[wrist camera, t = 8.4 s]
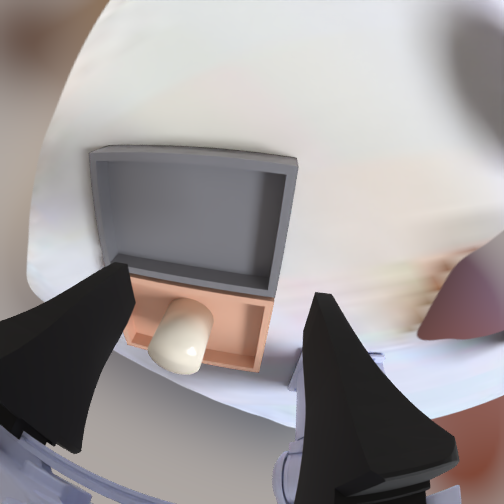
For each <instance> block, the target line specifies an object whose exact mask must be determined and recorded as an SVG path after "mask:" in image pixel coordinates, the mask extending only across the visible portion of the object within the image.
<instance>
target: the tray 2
mask: <svg viewBox="0 0 504 504" xmlns="http://www.w3.org/2000/svg"><path fill="white" fill-rule="evenodd" d="M130 278H131V283H132V288H133V292H134V297H135V301H136V304H135V306H134V309H133V312H132V314H131V317H130V319H129V321H128V324H127V325H126V327H125V329H124V331H123V333H124V336H125V339H126V342H127V345H131V346H134V347H138V348H141V349H145V350H148V346H149V344H150V341H151V339H152V337H153V335H154V333H155V331H156V329H157V327H158V325H159V324H160V322H161V320H162V318H163V316H164V314H165V312H166V310H167V308H168V306H169V304H170V303H171V302H172V301H173V300H175V299H178V298H189V299H193V300H196V301H198V302H200V303H202V304H203V305H205V306H206V307H207V308H208V309H209V310H210V312H211V313H212V315H213V318H214V323H213V327H212V330H211V333H210V336H209V340H208V343H207V346H206V349H205V353H204V356H203V359H202V362H201V363H204V364H209V365H214V366H220V367H225V368H231V369H237V370H243V371H250V372H257V373H259V370H260V365H261V361H262V356H263V352H264V347H265V343H266V338H267V333H268V329H269V324H270V319H271V314H272V309H273V305H274V298H273V297H266V296H259V295H252V294H246V293H239V292H233V291H227V290H220V289H214V288H208V287H202V286H197V285H191V284H185V283H180V282H174V281H169V280H163V279H158V278H153V277H148V276H143V275H138V274H133V273H130Z"/></svg>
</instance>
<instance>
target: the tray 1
mask: <svg viewBox="0 0 504 504" xmlns="http://www.w3.org/2000/svg"><path fill="white" fill-rule="evenodd" d="M89 161H90V173H91V184H92V193H93V201H94V208H95V215H96V221H97V227H98V233H99V239H100V244H101V249H102V254H103V259H104V263H105V267H106V266H108V265H110V264H112V263H114V262H119V263H125V264H128V268H129V273H133V274H138V275H143V276H148V277H153V278H158V279H163V280H169V281H174V282H180V283H185V284H191V285H197V286H202V287H208V288H214V289H220V290H227V291H233V292H239V293H246V294H252V295H259V296H266V297H273V298H275V295H276V290H277V285H278V279H279V274H280V269H281V264H282V259H283V253H284V248H285V242H286V237H287V231H288V226H289V220H290V214H291V209H292V203H293V197H294V191H295V185H296V179H297V173H298V162H297V158H293V157H287V156H280V155H273V154H265V153H257V152H248V151H239V150H229V149H217V148H204V147H188V146H163V145H111V146H106V147H103V148H100V149H98V150H95V151H93V152H90V153H89Z"/></svg>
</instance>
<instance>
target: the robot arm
mask: <svg viewBox="0 0 504 504" xmlns="http://www.w3.org/2000/svg"><path fill="white" fill-rule="evenodd" d="M135 304H136V301H135V297H134V292H133V288H132V283H131V278H130V273H129V268H128V264H125V263H119V262H114V263H112V264H110V265H108V266H106V267H104V268H103V269H101V270H99V271H97V272H96V273H94V274H92V275H91V276H89V277H88V278H86V279H84V280H83V281H81V282H79V283H78V284H76V285H74V286H73V287H71V288H69V289H68V290H66V291H64V292H62V293H61V294H59V295H57V296H56V297H54V298H52V299H50V300H49V301H47V302H45V303H43V304H41V305H39V306H37V307H35V308H32V309H30V310H28V311H26V312H23V313H21V314H18V315H16V316H13V317H11V318H8V319H5V320H2V321H0V504H93V503H91V502H90V501H91V498H92V496H91V494H89V493H88V492H86V491H84V490H83V489H81V488H80V487H78V486H76V485H74V484H72V483H70V482H68V481H66V480H64V479H62V478H60V477H59V476H57V475H55V474H53V473H52V471H51V467H52V468H53V469H55V470H57V471H58V472H60V473H61V474H63V475H65V476H67V477H68V478H70V479H72V480H74V481H76V482H77V483H79V484H81V485H83V486H85V487H87V488H89V489H91V490H93V491H95V492H97V493H99V494H101V495H103V496H105V497H107V498H110V499H112V500H114V501H117V502H119V503H121V504H175V503H171V502H168V501H164V500H161V499H158V498H155V497H151V496H148V495H145V494H143V493H139V492H137V491H134V490H131V489H129V488H126V487H124V486H121V485H119V484H116V483H114V482H112V481H109V480H107V479H105V478H103V477H100V476H98V475H96V474H94V473H92V472H90V471H88V470H86V469H84V468H82V467H80V466H78V465H77V464H75V463H73V462H71V461H69V460H67V459H66V458H64V457H62V456H61V455H59V454H57V453H56V452H54V451H52V450H51V449H49V448H48V447H46V446H45V445H46V442H48V443H49V444H51V445H52V446H55V445H56V444H57V445H59V446H61V447H63V448H64V449H66V450H68V451H70V452H71V453H73V454H77V453H79V452H81V448H82V440H83V434H84V427H85V423H86V418H87V414H88V410H89V406H90V403H91V400H92V396H93V393H94V390H95V388H96V384H97V382H98V379H99V376H100V374H101V372H102V369H103V367H104V365H105V363H106V361H107V360H108V358H109V356H110V354H111V352H112V350H113V349H114V347H115V345H116V343H117V342H118V340H119V338H120V336H121V334H122V333H123V331H124V329H125V327H126V325H127V324H128V321H129V319H130V317H131V314H132V312H133V309H134V306H135ZM384 360H385V356H384V355H377V354H369V353H368V352H367V351H366V349H365V348H364V346H363V345H362V343H361V342H360V340H359V339H358V337H357V335H356V334H355V332H354V331H353V329H352V328H351V326H350V324H349V323H348V321H347V319H346V318H345V316H344V314H343V313H342V311H341V309H340V307H339V306H338V304H337V302H336V301H335V299H334V297H333V296H332V294H326V293H318V292H315V295H314V298H313V301H312V305H311V308H310V311H309V315H308V318H307V321H306V324H305V327H304V330H303V350H302V353H301V356H300V358H299V361H298V363H297V366H296V369H295V371H294V374H293V376H292V378H291V381H290V383H289V386H288V390H289V391H296V392H297V407H296V435H295V442H290V443H289V451H285V452H283V453H282V454H281V455H280V457H279V458H278V459H277V461H276V463H275V466H274V469H273V476H272V477H273V478H272V485H273V491H274V494H275V497H276V500H277V504H461V495H460V486H459V485H456V486H453V487H451V488H449V489H446V490H443V491H440V492H438V493H435V494H432V495H429V496H426V493H425V490H428V489H430V479H432V478H435V477H436V476H439V475H441V474H443V473H445V472H447V471H448V470H450V469H452V468H454V467H455V466H456V465H457V464H458V462H459V456H458V451H457V446H456V441H455V438H454V436H452V435H451V434H450V433H448V432H447V431H445V430H444V429H443V428H441V427H440V426H438V425H437V424H436V423H434V422H433V421H432V420H431V419H429V418H428V417H427V416H426V415H425V414H423V413H422V412H421V411H420V410H419V409H418V408H417V407H415V406H414V405H413V404H412V403H411V402H410V401H409V400H408V399H407V398H406V397H405V396H404V395H403V394H402V393H401V392H400V391H399V390H398V389H397V388H396V387H395V386H394V384H393V383H392V382H391V381H390V380H389V379H388V378H387V376H386V375H385V371H384V367H383V362H384Z"/></svg>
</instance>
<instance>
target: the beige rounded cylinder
mask: <svg viewBox="0 0 504 504" xmlns="http://www.w3.org/2000/svg"><path fill="white" fill-rule="evenodd" d="M213 323H214V318H213V315H212V313H211V312H210V310H209V309H208V308H207V307H206V306H205V305H203V304H202V303H200V302H198V301H196V300H193V299H189V298H178V299H175V300H173V301H172V302H171V303H170V304H169V306H168V308H167V310H166V312H165V314H164V316H163V318H162V320H161V322H160V324H159V325H158V327H157V329H156V331H155V333H154V335H153V337H152V339H151V341H150V344H149V346H148V353H149V355H150V357H151V358H152V360H153V361H154V362H155V363H156V364H158V365H159V366H160V367H162V368H164V369H165V370H168V371H170V372H173V373H176V374H182V375H189V374H193V373H196V372H197V371H198V370H199V369H200V366H201V362H202V359H203V356H204V353H205V349H206V346H207V343H208V340H209V336H210V333H211V330H212V327H213Z"/></svg>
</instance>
